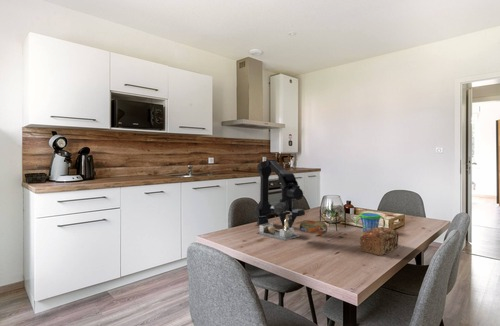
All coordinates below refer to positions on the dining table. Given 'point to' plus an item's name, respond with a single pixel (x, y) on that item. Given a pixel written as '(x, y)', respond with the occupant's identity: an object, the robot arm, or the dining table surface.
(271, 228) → the walnut
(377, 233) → the bread
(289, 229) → the jaw
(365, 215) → the snack cup
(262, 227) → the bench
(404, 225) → the dining table surface
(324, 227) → the tin
